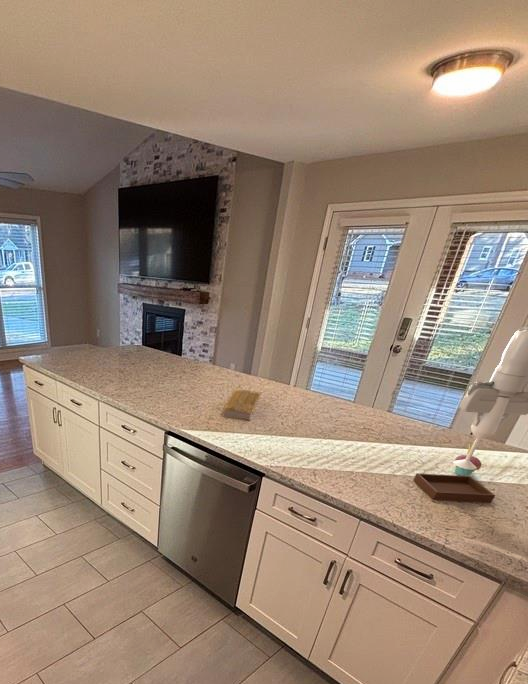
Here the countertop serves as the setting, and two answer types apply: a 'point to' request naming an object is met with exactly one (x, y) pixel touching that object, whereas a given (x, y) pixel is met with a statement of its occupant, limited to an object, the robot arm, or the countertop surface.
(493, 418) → the champagne flute
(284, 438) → the countertop surface
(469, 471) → the cupcake
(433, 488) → the tray
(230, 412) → the rafter model
